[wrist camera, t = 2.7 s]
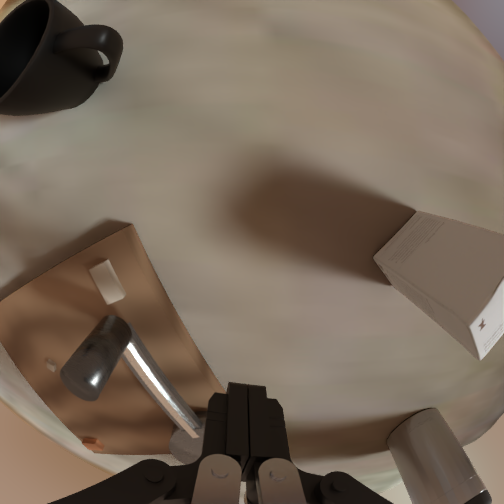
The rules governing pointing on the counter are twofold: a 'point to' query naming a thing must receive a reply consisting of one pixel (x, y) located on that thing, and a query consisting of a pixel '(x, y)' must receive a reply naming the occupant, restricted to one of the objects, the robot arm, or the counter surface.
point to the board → (79, 327)
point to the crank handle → (146, 371)
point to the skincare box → (450, 276)
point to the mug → (52, 58)
